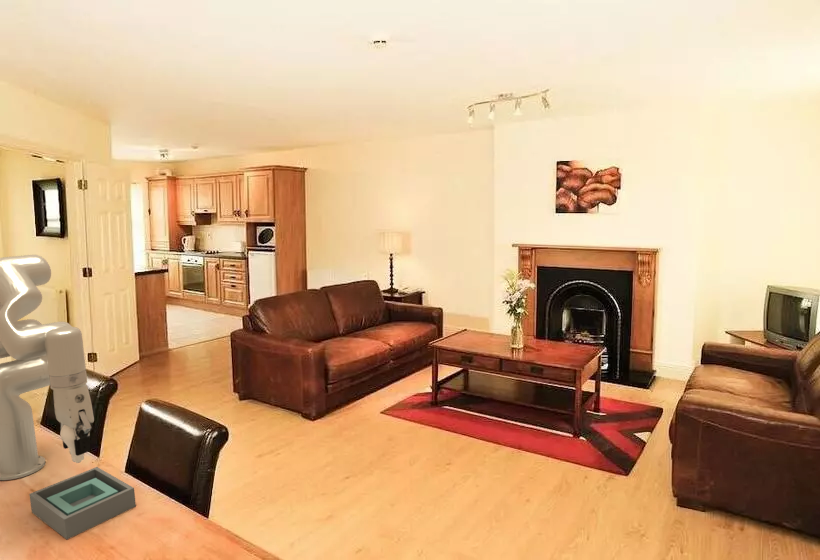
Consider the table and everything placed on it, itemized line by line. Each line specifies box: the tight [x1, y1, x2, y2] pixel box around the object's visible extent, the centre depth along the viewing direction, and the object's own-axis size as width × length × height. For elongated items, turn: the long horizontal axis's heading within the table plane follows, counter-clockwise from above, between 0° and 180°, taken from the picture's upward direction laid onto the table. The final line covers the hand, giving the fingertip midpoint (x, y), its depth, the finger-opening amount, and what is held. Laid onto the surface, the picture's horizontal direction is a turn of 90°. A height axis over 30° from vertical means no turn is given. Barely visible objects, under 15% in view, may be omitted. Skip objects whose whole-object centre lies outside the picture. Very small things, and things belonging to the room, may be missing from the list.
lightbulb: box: [59, 423, 85, 464], centre depth 132 cm, size 6×6×11 cm
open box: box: [28, 466, 137, 540], centre depth 135 cm, size 19×16×5 cm
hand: (77, 449), depth 133 cm, fingers closed on lightbulb, 5 cm apart
